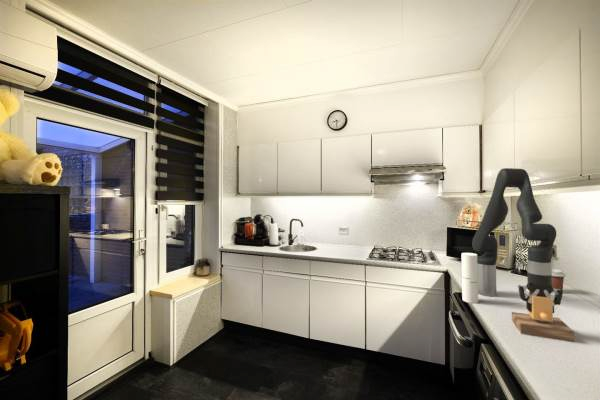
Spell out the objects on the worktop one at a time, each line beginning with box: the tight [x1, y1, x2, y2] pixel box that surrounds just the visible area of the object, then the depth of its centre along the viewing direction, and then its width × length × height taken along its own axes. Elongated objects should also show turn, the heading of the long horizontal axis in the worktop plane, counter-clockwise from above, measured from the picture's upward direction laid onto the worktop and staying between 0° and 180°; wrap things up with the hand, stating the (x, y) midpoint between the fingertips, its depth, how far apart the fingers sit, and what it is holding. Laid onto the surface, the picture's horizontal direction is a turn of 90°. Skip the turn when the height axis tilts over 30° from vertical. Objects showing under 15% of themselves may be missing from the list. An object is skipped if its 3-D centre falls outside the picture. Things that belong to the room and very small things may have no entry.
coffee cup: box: [552, 268, 566, 293], centre depth 152 cm, size 9×9×12 cm
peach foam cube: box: [527, 291, 554, 322], centre depth 108 cm, size 9×6×9 cm, turn 155°
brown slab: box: [511, 311, 575, 342], centre depth 109 cm, size 12×16×10 cm
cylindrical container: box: [461, 252, 479, 304], centre depth 141 cm, size 7×7×25 cm
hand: (540, 312), depth 109 cm, fingers closed on peach foam cube, 5 cm apart
